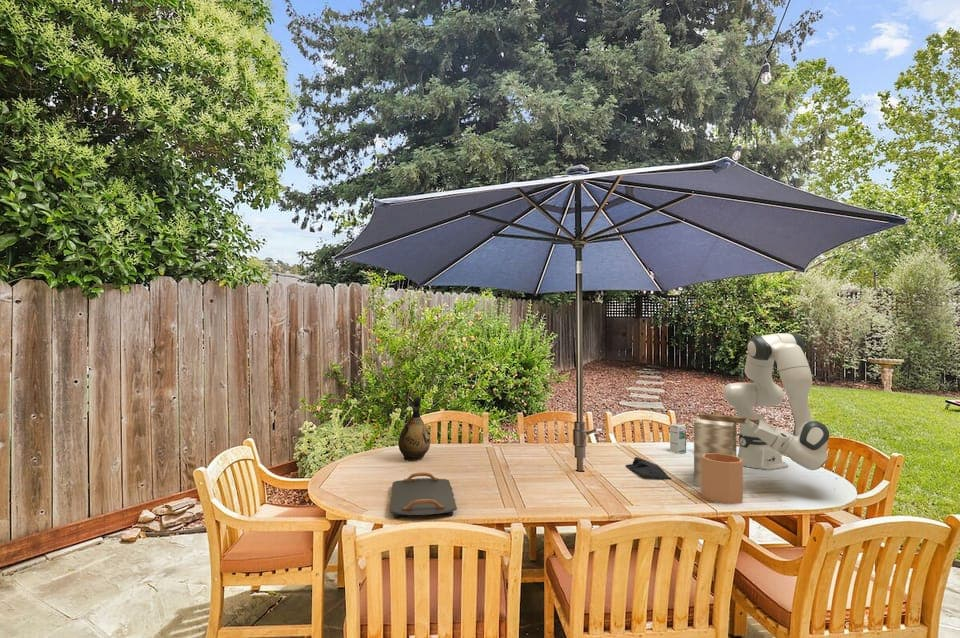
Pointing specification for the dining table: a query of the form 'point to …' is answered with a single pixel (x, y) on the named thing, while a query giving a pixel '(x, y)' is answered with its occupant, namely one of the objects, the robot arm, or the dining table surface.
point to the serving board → (422, 496)
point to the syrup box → (678, 438)
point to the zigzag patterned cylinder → (712, 441)
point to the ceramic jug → (414, 435)
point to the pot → (722, 478)
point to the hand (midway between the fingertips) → (745, 419)
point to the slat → (727, 418)
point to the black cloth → (647, 469)
